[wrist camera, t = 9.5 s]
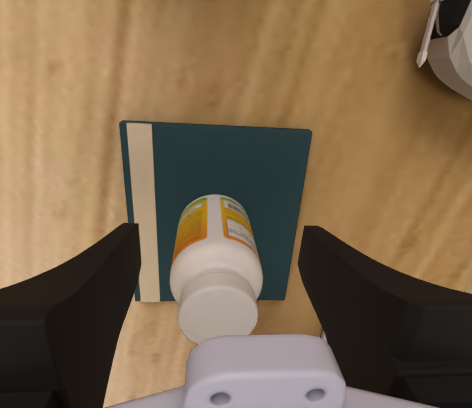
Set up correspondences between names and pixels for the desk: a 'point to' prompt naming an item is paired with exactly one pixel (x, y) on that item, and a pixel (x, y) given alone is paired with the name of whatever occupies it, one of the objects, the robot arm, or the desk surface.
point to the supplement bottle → (215, 270)
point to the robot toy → (450, 44)
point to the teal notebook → (212, 191)
